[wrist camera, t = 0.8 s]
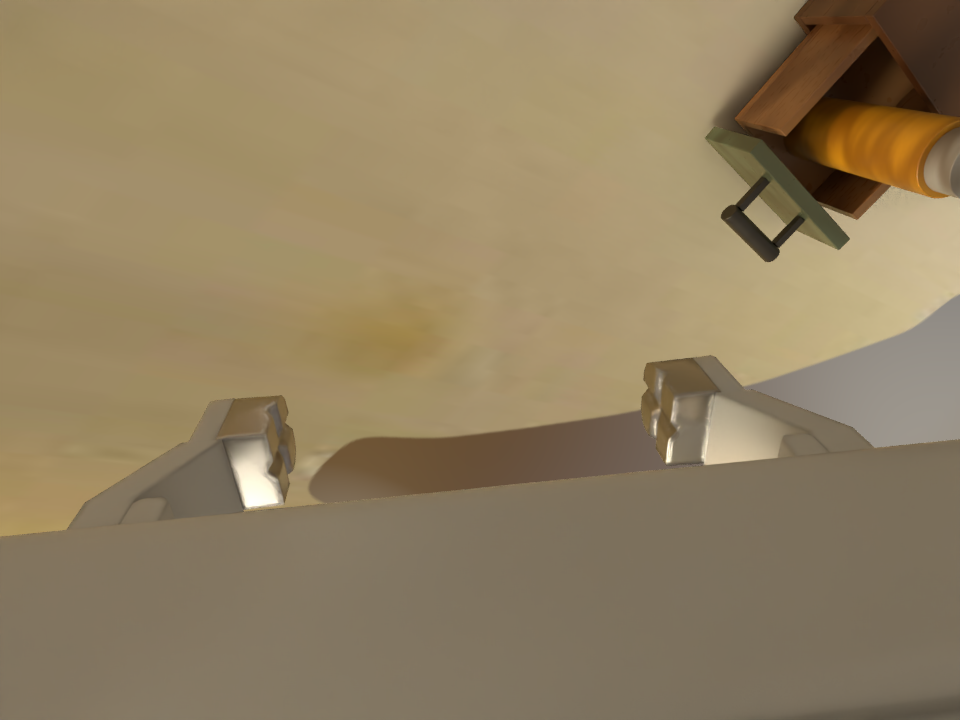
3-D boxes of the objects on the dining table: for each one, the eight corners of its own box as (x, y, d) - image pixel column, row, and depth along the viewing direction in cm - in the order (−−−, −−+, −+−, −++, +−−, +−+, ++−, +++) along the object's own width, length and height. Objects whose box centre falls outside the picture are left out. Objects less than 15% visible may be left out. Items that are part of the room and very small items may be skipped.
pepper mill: (787, 99, 49) (977, 132, 34) (843, 92, 50) (1054, 121, 35) (779, 161, 52) (953, 218, 36) (832, 153, 52) (1025, 206, 37)
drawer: (753, 262, 57) (799, 290, 51) (667, 179, 52) (707, 199, 46) (919, 90, 52) (991, 98, 46) (843, -22, 47) (913, -29, 41)
